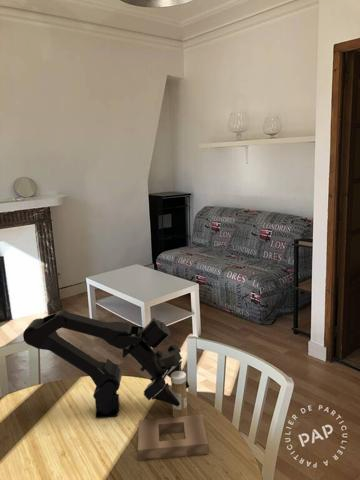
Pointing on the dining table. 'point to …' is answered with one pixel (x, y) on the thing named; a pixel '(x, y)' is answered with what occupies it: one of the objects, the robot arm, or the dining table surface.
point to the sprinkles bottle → (179, 393)
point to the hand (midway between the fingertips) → (183, 395)
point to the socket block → (174, 448)
